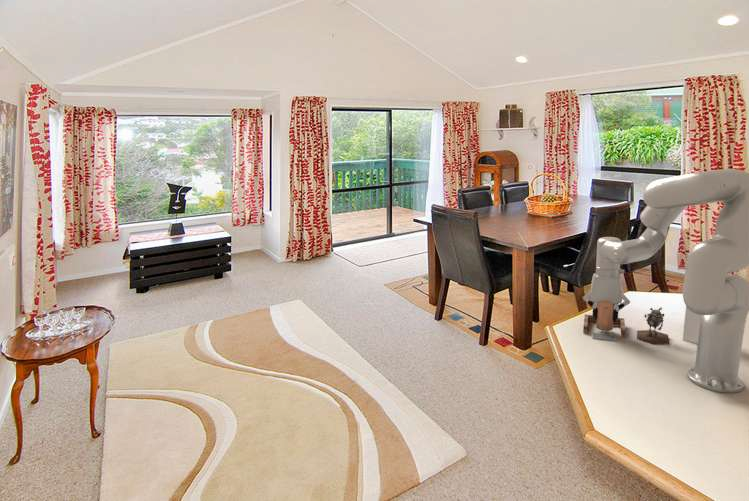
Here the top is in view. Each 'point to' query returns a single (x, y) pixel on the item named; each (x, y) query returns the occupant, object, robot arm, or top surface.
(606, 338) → the mat
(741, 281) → the robot arm
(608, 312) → the peach rounded cylinder
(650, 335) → the robot figurine
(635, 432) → the top surface
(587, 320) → the frame
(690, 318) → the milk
